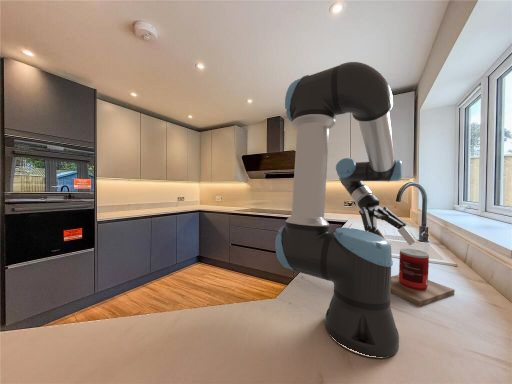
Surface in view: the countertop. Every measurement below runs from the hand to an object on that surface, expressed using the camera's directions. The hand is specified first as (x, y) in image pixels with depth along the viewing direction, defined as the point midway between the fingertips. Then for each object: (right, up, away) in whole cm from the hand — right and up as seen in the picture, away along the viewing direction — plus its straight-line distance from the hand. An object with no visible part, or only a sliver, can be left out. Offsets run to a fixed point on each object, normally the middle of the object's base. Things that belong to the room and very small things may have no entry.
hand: (400, 245), depth 74 cm
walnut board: (+1, -14, -4) cm, 14 cm away
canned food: (+1, -12, -4) cm, 13 cm away
